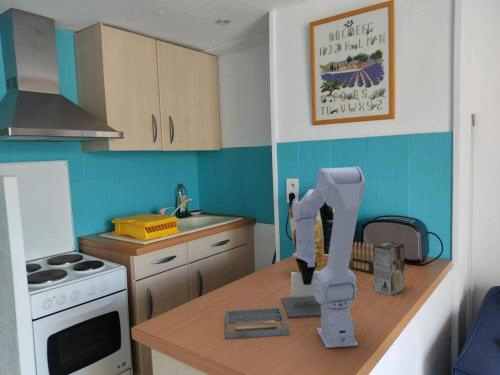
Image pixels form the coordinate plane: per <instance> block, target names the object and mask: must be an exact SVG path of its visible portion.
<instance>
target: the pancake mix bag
mask: <svg viewBox="0 0 500 375" xmlns="http://www.w3.org/2000/svg"><path fill="white" fill-rule="evenodd" d="M292 207H293V206H291V207H289V209H288V218H289V224H290V233H291V239H292V242H293V249H294V250H293V251H294V253H293V254H295V253H296V220H295V219H294V217H293V212H292ZM322 220H323V219H322V216H321V211H320V209H319V210H318V215H317V219H316V225H315V254H316V257H315V262H316V263H317V267H316V268H315V270H314V271H320V270H322V269H323V268H324V267H325V249H324V248H325V246H324V245H325V243H324V229H323V227H324V226H323V221H322ZM295 259H297V257H294V260H295ZM295 272H300V271H299V267H298V264H297V262H296V260H295Z"/></svg>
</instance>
